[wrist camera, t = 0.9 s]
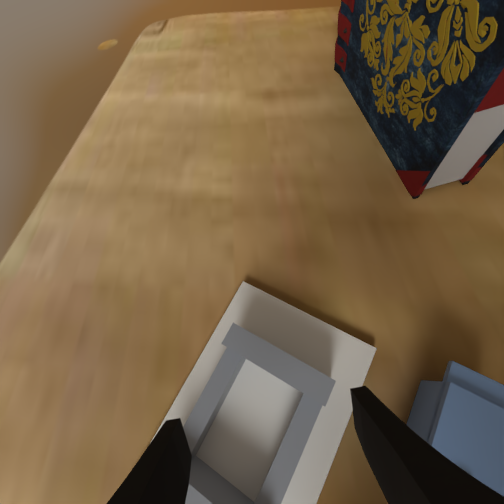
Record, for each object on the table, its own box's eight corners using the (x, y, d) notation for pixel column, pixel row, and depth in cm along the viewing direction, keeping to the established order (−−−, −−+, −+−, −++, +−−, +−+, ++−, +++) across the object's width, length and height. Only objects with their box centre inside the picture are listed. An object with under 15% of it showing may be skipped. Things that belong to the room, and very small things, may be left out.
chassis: (373, 349, 24) (390, 343, 19) (264, 629, 18) (251, 713, 14) (244, 284, 28) (234, 267, 24) (124, 496, 23) (80, 527, 18)
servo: (480, 389, 22) (538, 395, 16) (443, 531, 19) (497, 593, 14) (426, 362, 23) (463, 360, 18) (383, 491, 20) (412, 534, 15)
